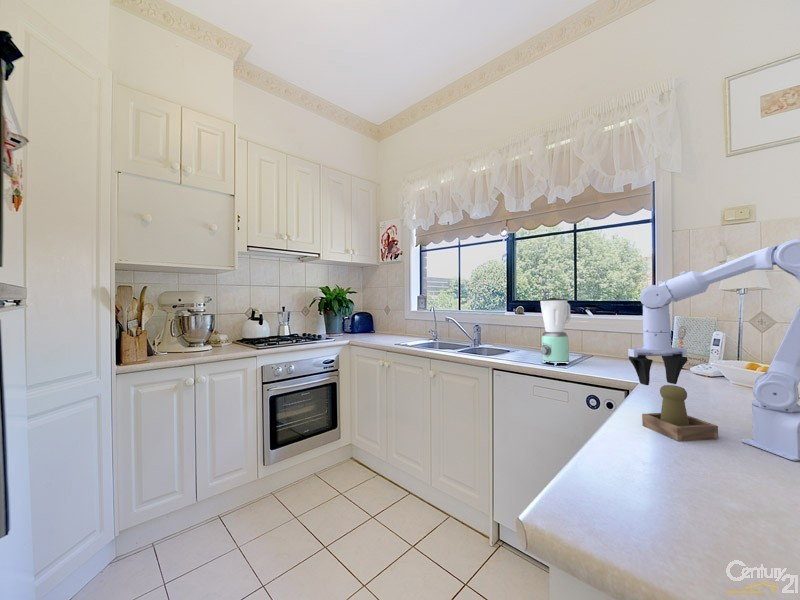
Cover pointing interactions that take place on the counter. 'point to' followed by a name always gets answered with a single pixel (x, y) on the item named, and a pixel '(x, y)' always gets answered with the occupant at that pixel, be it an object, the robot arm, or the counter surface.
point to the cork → (674, 405)
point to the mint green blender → (555, 330)
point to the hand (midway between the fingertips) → (658, 383)
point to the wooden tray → (681, 428)
